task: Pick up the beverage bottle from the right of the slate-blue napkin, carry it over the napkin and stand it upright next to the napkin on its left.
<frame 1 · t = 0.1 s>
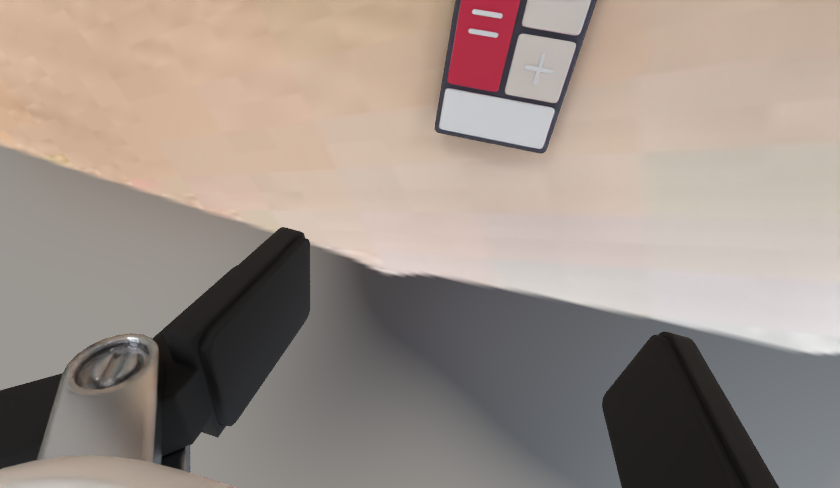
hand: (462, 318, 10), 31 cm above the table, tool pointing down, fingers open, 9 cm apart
black buttoned block: (509, 55, 33), on the table
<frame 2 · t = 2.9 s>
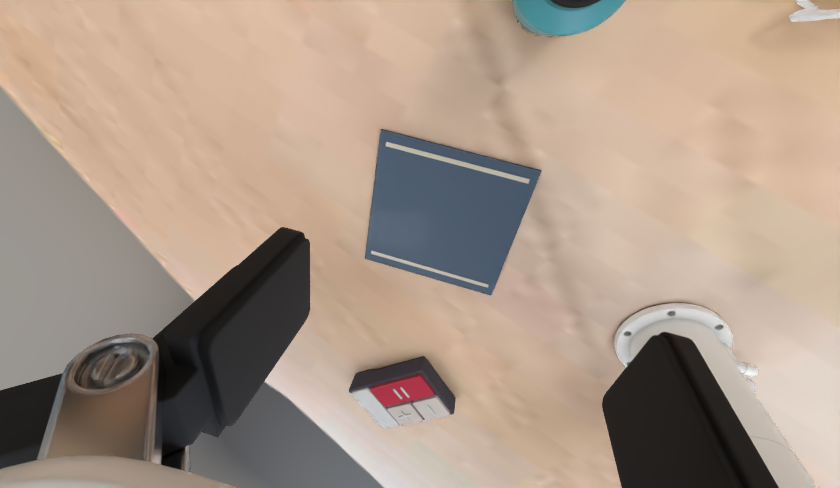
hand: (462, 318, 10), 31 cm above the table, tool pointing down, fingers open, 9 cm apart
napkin: (441, 219, 43), on the table
black buttoned block: (405, 384, 62), on the table
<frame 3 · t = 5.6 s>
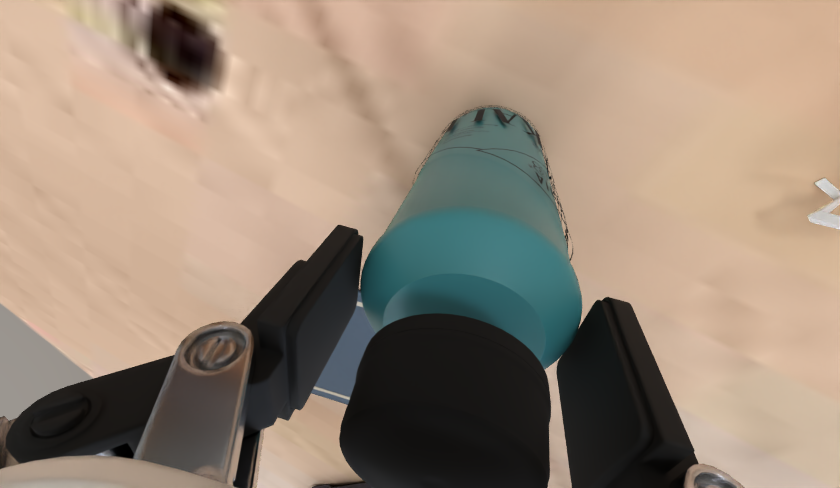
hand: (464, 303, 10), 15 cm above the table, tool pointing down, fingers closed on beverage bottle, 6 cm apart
beverage bottle: (489, 149, 23), on the table, touching gripper
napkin: (386, 363, 36), on the table
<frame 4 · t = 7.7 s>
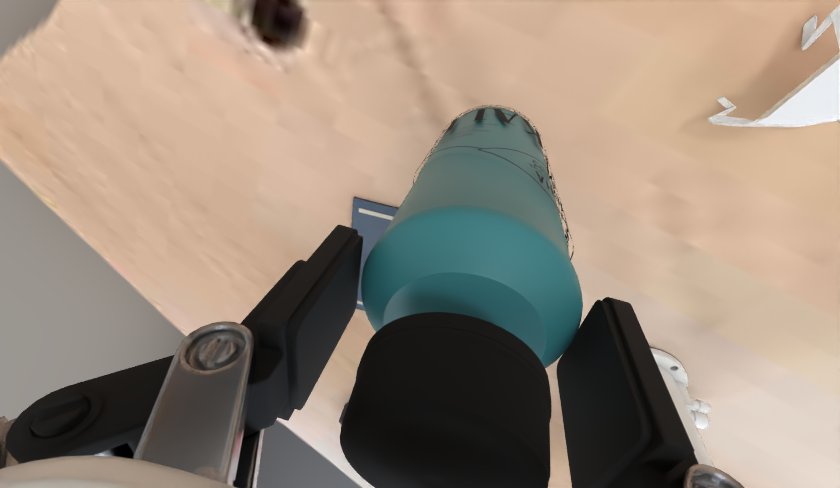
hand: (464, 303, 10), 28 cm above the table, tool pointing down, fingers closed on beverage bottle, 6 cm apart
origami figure: (785, 77, 28), on the table
beverage bottle: (489, 149, 23), point 13 cm above the table, touching gripper
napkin: (415, 273, 46), on the table
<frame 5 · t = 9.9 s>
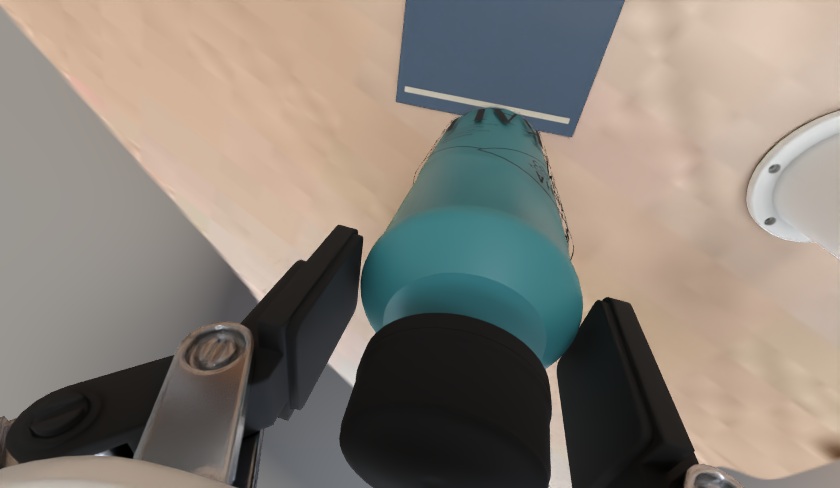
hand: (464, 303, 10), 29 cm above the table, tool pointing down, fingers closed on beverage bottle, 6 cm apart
beverage bottle: (489, 149, 23), point 14 cm above the table, touching gripper
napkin: (506, 13, 31), on the table
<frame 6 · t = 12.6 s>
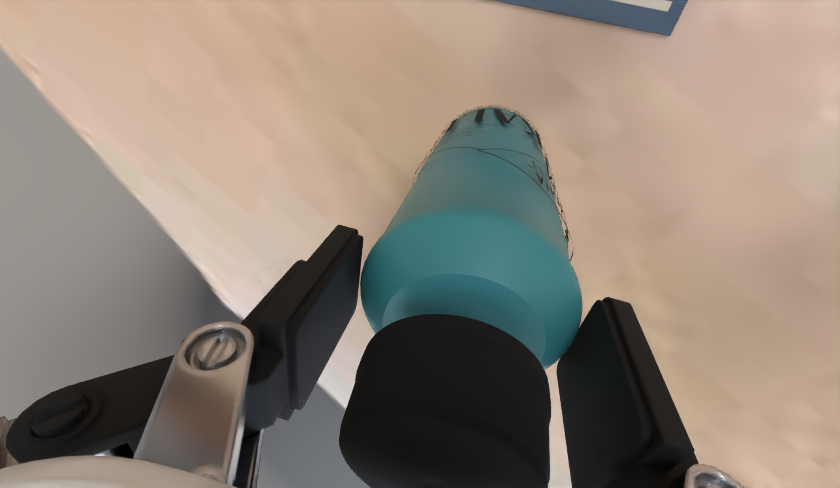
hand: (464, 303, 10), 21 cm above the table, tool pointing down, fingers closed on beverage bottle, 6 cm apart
beverage bottle: (489, 149, 23), point 5 cm above the table, touching gripper
when the fingers open (15 cm above the table, at t = 14.5 s): beverage bottle stays where it is, on the table.
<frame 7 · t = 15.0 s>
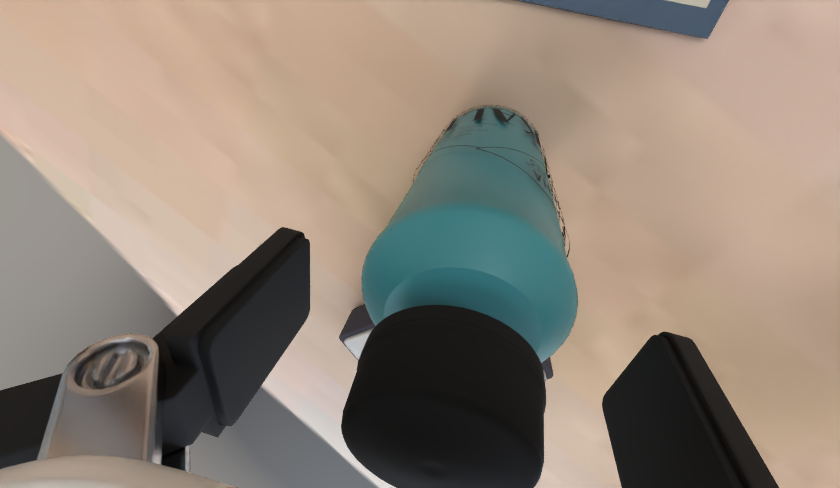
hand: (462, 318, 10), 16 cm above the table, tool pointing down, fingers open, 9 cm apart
beverage bottle: (488, 148, 23), on the table
black buttoned block: (447, 327, 32), on the table
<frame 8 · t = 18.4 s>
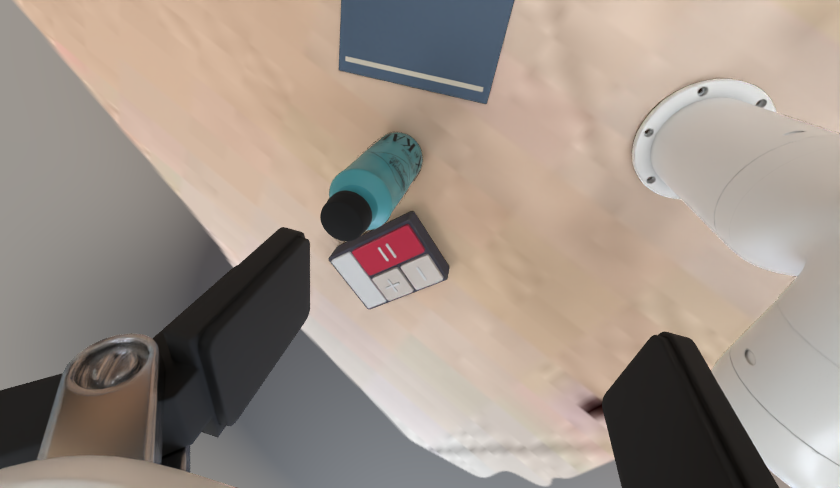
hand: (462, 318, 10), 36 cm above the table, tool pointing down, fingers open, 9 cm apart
beverage bottle: (402, 151, 46), on the table
black buttoned block: (392, 256, 55), on the table
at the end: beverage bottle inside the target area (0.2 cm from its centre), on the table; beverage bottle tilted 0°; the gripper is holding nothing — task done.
